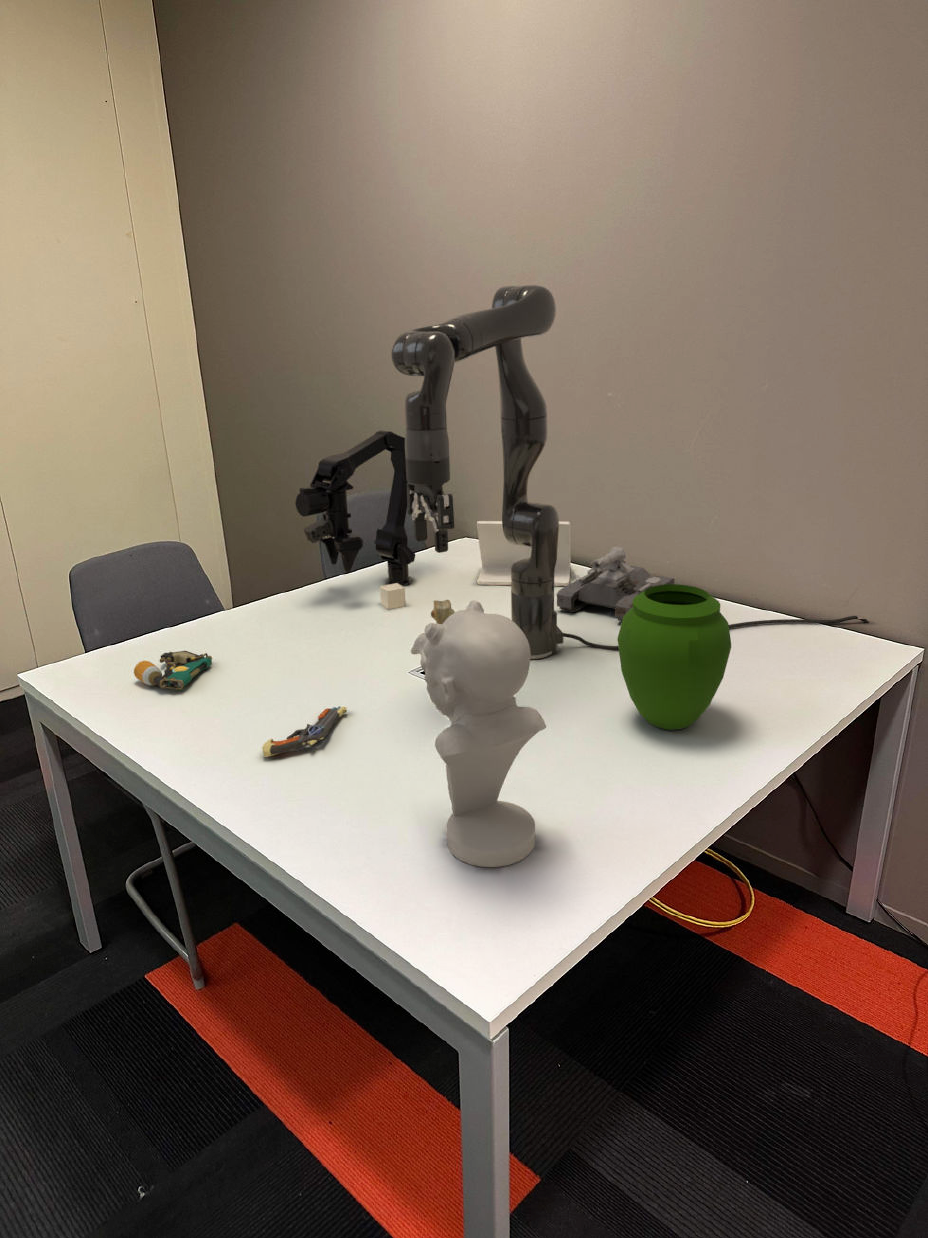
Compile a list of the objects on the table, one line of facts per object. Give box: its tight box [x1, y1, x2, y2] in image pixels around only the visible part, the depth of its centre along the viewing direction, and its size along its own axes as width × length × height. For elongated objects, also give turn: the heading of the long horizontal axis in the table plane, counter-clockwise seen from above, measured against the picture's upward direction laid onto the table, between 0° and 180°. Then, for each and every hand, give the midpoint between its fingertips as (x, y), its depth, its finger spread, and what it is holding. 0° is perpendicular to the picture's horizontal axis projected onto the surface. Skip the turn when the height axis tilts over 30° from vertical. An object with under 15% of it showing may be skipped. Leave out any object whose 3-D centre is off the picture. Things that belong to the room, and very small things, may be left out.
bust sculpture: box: [410, 599, 547, 868], centre depth 121 cm, size 16×24×35 cm
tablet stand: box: [476, 520, 572, 587], centre depth 236 cm, size 18×25×17 cm
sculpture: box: [430, 599, 456, 624], centre depth 177 cm, size 6×7×15 cm
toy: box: [556, 546, 676, 622], centre depth 212 cm, size 25×20×15 cm
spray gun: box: [133, 650, 213, 690], centre depth 180 cm, size 4×17×15 cm
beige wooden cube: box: [379, 583, 406, 610], centre depth 218 cm, size 5×5×5 cm
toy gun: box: [261, 705, 348, 758], centre depth 154 cm, size 3×19×10 cm
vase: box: [616, 583, 732, 731], centre depth 151 cm, size 20×20×24 cm
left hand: (340, 568), depth 220 cm, fingers open, 9 cm apart
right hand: (431, 546), depth 152 cm, fingers open, 8 cm apart
